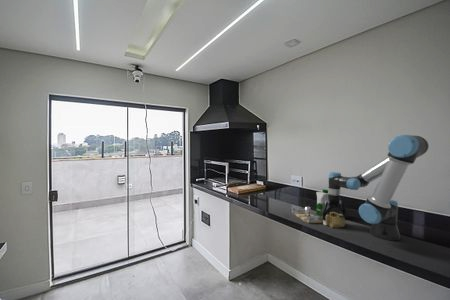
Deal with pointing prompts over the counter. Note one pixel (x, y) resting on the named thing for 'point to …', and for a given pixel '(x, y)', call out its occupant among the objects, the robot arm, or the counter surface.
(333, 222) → the gold square frame
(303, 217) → the bench plate
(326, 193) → the milk carton
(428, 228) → the counter surface
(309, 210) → the grey metal piece
